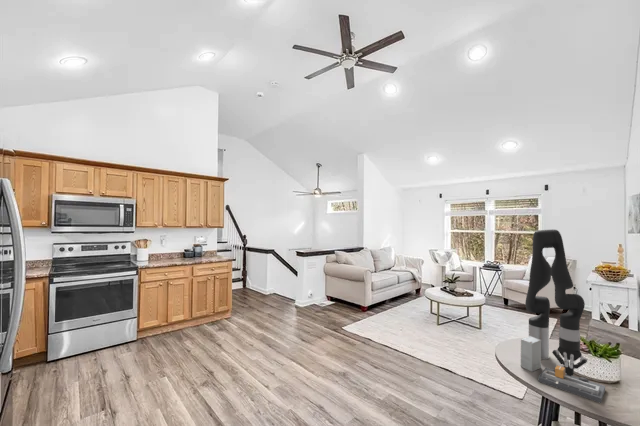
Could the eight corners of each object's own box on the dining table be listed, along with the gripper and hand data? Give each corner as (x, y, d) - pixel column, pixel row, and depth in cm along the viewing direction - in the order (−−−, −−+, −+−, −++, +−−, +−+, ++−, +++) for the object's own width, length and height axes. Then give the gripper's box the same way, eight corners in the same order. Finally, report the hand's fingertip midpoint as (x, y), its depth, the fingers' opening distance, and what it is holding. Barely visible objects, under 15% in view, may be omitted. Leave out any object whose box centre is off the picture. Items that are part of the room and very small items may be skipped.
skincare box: (529, 363, 162) (529, 335, 162) (541, 368, 156) (542, 339, 156) (519, 366, 158) (520, 338, 158) (532, 372, 153) (532, 342, 153)
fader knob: (557, 376, 145) (557, 364, 145) (565, 379, 142) (565, 367, 142) (555, 379, 142) (555, 368, 142) (563, 382, 140) (563, 370, 140)
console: (545, 371, 154) (545, 363, 154) (605, 390, 137) (605, 382, 137) (538, 381, 144) (538, 373, 144) (600, 403, 128) (600, 394, 128)
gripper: (589, 339, 137) (589, 378, 137) (553, 331, 147) (553, 367, 147) (587, 344, 132) (587, 384, 132) (549, 335, 142) (549, 372, 142)
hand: (569, 375), depth 140 cm, fingers closed
